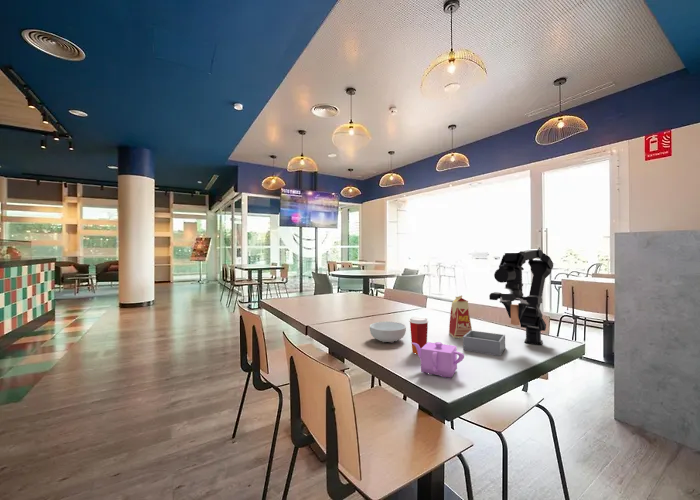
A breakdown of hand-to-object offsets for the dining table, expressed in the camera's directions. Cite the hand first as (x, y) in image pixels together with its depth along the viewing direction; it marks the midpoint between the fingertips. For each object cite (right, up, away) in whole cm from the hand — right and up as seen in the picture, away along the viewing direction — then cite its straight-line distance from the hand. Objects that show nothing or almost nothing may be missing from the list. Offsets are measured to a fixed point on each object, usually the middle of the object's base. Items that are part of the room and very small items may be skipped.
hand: (515, 318), depth 125 cm
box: (-12, -13, +1) cm, 18 cm away
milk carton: (-15, -13, +21) cm, 29 cm away
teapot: (-39, -13, -22) cm, 47 cm away
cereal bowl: (-51, -14, +16) cm, 55 cm away
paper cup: (-40, -14, -2) cm, 43 cm away
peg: (0, -2, 0) cm, 2 cm away
